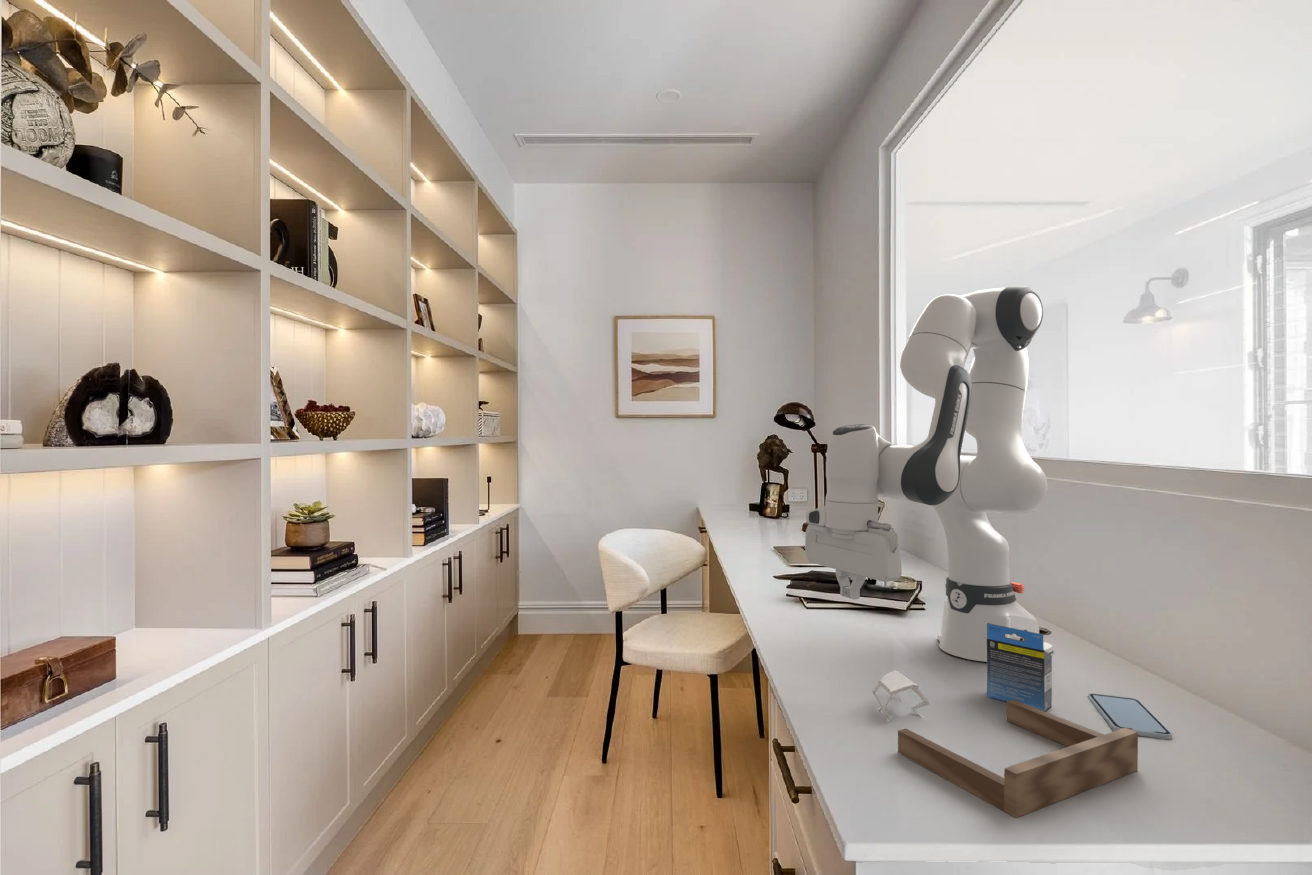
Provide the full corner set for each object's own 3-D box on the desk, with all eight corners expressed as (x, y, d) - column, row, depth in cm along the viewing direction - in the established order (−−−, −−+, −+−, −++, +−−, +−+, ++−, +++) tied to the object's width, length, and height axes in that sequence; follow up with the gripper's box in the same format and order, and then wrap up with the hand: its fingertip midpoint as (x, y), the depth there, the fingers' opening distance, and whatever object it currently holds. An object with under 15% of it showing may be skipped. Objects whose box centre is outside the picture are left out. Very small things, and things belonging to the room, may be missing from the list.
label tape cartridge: (1053, 706, 108) (1053, 629, 108) (1044, 713, 105) (1044, 634, 105) (995, 690, 114) (995, 618, 114) (985, 696, 112) (985, 622, 112)
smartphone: (1138, 698, 110) (1174, 735, 96) (1138, 704, 110) (1174, 742, 96) (1086, 692, 113) (1114, 727, 98) (1086, 698, 113) (1114, 734, 98)
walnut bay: (1013, 719, 103) (1013, 686, 103) (1137, 770, 87) (1137, 732, 87) (897, 752, 92) (897, 715, 92) (1016, 817, 77) (1016, 774, 77)
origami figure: (936, 727, 100) (936, 694, 100) (878, 724, 101) (878, 691, 101) (916, 696, 112) (917, 667, 112) (864, 693, 113) (864, 664, 113)
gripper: (911, 524, 109) (910, 609, 109) (826, 511, 127) (825, 584, 127) (882, 526, 106) (881, 613, 106) (799, 512, 125) (798, 587, 125)
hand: (849, 597), depth 117 cm, fingers closed
